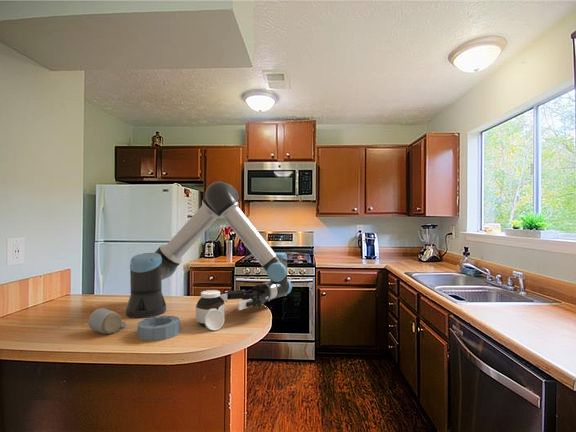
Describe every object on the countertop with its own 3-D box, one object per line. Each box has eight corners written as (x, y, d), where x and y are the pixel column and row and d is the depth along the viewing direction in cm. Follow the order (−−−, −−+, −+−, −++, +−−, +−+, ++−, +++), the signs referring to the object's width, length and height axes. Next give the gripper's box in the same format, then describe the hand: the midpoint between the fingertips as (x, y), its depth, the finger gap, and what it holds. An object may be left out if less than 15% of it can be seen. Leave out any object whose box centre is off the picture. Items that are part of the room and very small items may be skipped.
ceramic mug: (102, 337, 108) (103, 314, 108) (87, 333, 111) (87, 310, 111) (131, 328, 117) (131, 306, 117) (116, 324, 121) (116, 303, 121)
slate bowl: (130, 334, 110) (130, 322, 110) (165, 324, 120) (165, 313, 120) (151, 344, 102) (151, 331, 102) (187, 332, 112) (187, 320, 112)
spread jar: (212, 318, 127) (212, 288, 127) (235, 323, 121) (235, 291, 121) (188, 328, 117) (188, 294, 117) (212, 333, 111) (212, 299, 111)
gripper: (287, 306, 132) (250, 319, 116) (243, 296, 148) (204, 307, 131) (287, 287, 132) (250, 298, 116) (243, 279, 148) (204, 288, 131)
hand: (225, 303), depth 123 cm, fingers open, 13 cm apart
